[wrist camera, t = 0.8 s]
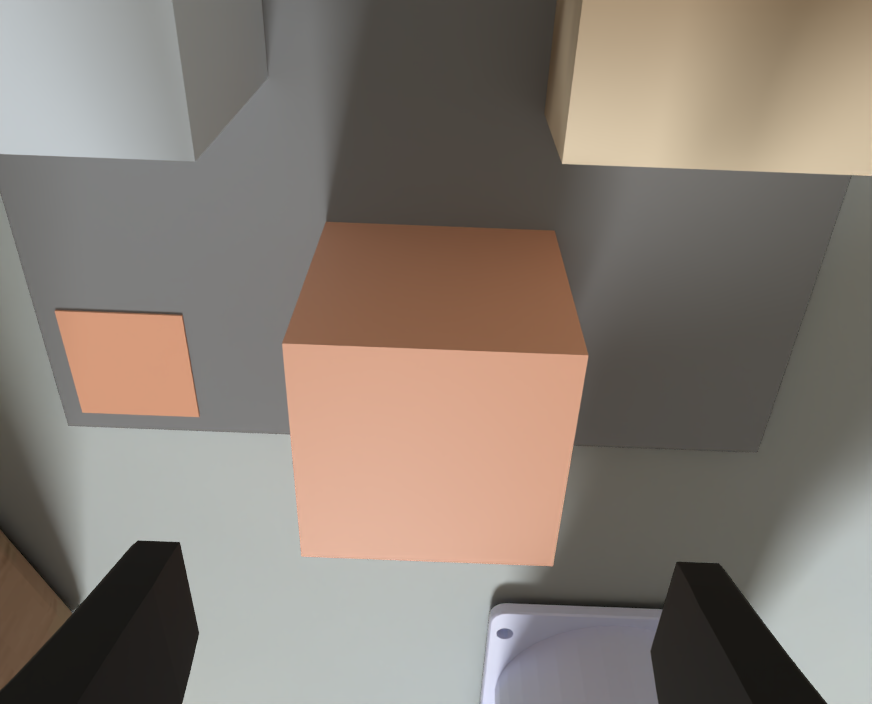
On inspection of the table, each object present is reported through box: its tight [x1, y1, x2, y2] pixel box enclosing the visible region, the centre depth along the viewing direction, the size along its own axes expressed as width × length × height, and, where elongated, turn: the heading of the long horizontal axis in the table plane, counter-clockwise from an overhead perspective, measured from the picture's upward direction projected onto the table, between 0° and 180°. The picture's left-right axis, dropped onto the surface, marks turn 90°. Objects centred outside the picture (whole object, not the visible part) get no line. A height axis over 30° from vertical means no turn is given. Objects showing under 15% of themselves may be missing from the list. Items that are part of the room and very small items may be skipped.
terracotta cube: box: [282, 222, 588, 566], centre depth 16 cm, size 5×5×5 cm
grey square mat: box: [0, 0, 852, 452], centre depth 16 cm, size 16×18×1 cm
